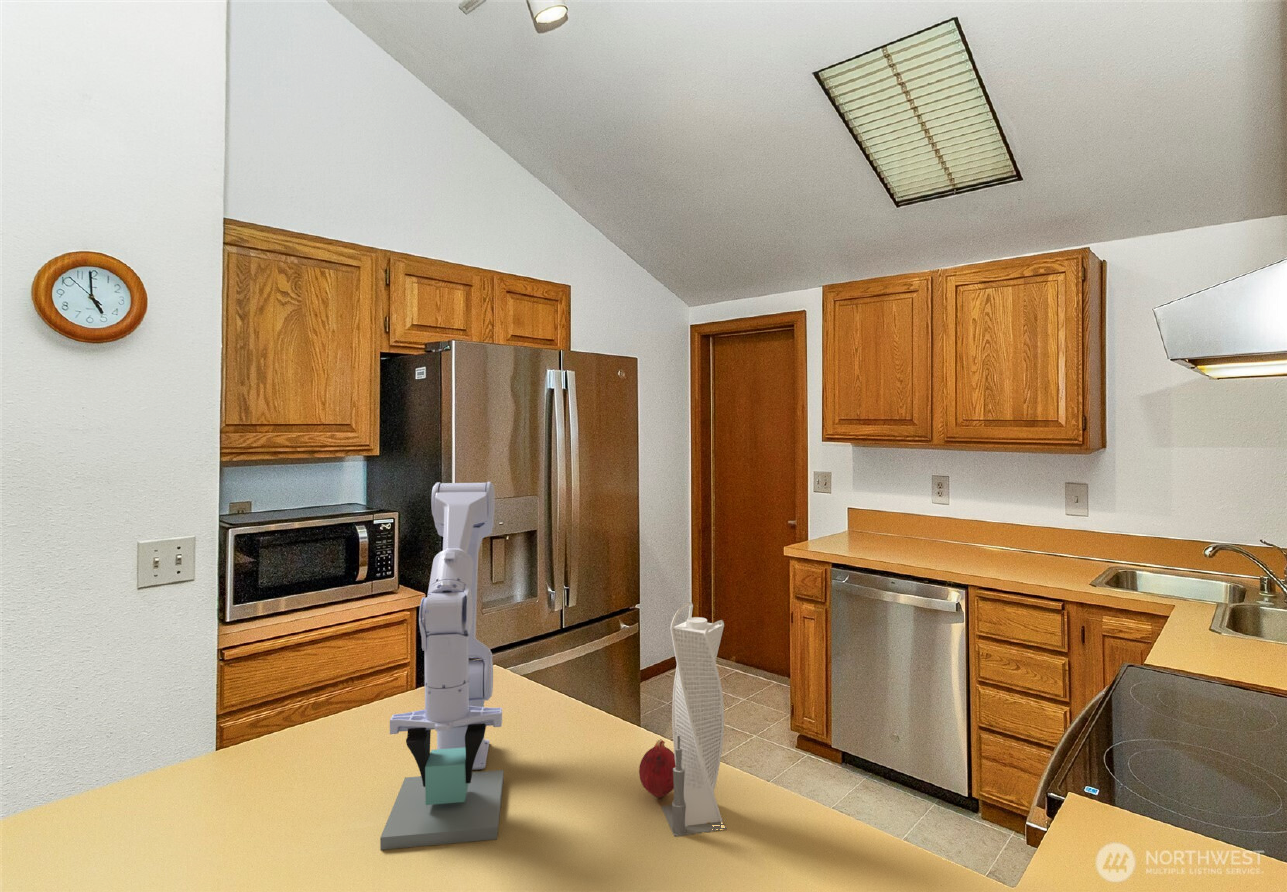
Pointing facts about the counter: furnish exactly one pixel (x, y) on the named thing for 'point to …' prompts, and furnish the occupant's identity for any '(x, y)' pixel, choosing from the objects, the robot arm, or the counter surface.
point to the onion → (658, 770)
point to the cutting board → (444, 814)
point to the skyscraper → (696, 726)
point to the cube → (446, 776)
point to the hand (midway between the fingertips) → (447, 781)
